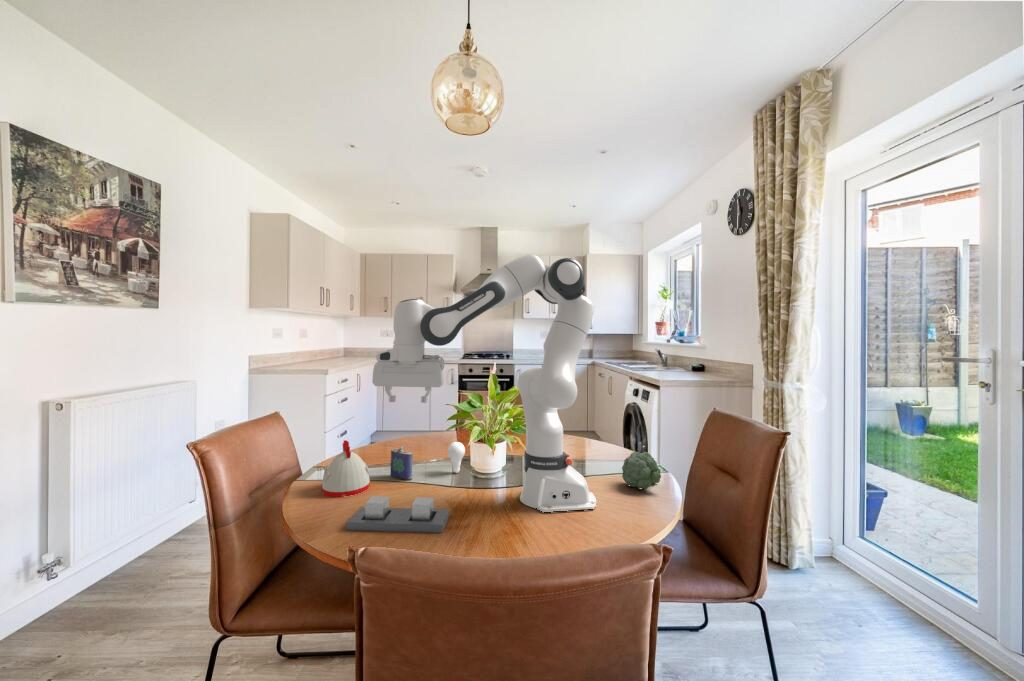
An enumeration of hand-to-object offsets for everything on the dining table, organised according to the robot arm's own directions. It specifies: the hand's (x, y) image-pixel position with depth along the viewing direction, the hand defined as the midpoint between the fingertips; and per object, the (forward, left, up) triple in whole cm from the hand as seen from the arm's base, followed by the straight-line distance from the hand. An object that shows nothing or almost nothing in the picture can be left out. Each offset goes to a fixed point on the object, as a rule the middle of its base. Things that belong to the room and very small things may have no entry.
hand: (408, 402), depth 117 cm
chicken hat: (+22, -9, -29) cm, 38 cm away
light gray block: (-8, +13, -29) cm, 33 cm away
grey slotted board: (-2, +13, -29) cm, 32 cm away
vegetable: (-73, -17, -29) cm, 81 cm away
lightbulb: (-10, -26, -29) cm, 40 cm away
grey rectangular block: (+4, +13, -29) cm, 32 cm away
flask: (+8, -20, -29) cm, 36 cm away
